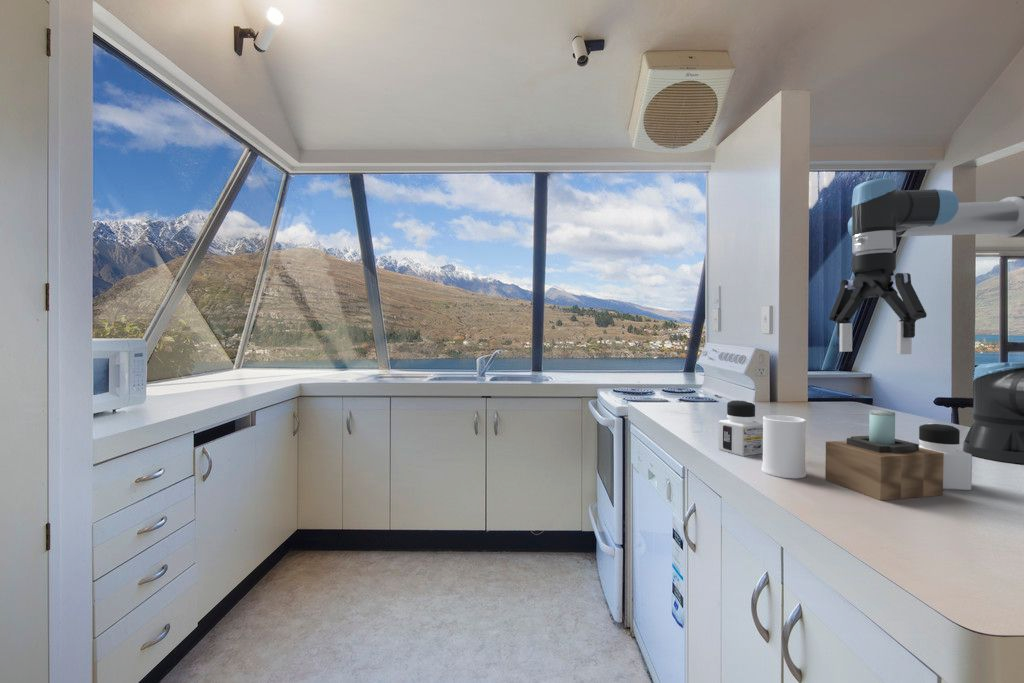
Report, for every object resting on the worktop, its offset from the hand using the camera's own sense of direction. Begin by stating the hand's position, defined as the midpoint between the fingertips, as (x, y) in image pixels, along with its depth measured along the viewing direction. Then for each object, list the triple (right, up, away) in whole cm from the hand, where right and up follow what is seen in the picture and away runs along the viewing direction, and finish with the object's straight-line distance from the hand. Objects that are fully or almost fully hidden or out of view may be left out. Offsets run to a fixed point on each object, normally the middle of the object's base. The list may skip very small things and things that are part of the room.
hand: (873, 352), depth 101 cm
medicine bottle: (+8, -27, -7) cm, 29 cm away
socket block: (-5, -26, -9) cm, 28 cm away
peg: (-5, -20, -9) cm, 23 cm away
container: (-19, -26, +19) cm, 38 cm away
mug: (-18, -26, +2) cm, 32 cm away
